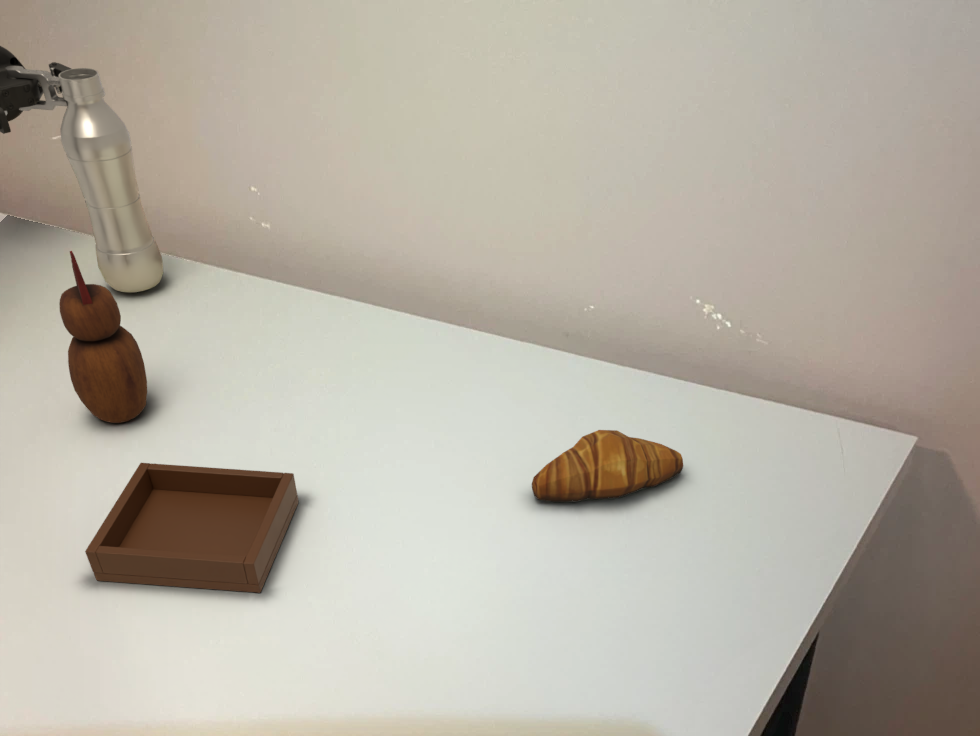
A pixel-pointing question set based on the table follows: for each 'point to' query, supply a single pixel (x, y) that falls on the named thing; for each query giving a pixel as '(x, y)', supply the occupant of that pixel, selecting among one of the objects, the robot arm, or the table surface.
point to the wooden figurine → (102, 353)
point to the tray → (195, 528)
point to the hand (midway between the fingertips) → (45, 112)
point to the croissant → (606, 468)
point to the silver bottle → (108, 184)
